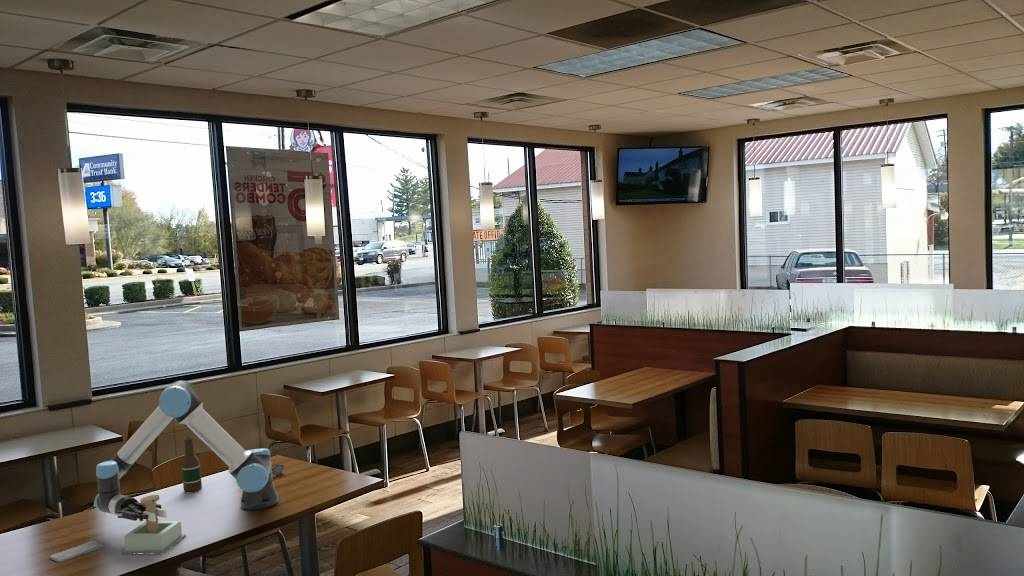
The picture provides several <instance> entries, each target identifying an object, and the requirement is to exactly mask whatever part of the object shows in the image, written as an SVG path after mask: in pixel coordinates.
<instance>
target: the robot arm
mask: <svg viewBox="0 0 1024 576" xmlns="http://www.w3.org/2000/svg"><path fill="white" fill-rule="evenodd" d="M203 404H204V402H203V401H201V399H200V398H199V397H198V396H197V390H196V388H195V387H194V384H192V383H191V382H189V381H187V380H177V381H173V382H171V384H169V386H167V387H166V388H165V389H164V390H163V391H162V392H161V394H160V395H159V399H158V406H157V407H156V408H155V409H154V411H152V413H151V414H150V415H149V416H148V417H147V419H145V420H144V422H143V423H142V424H141V425H140V426H139V427H138V429H136V431H135V432H134V433H133V434H132V435H131V437H130V438H129V439H128V440H127V441H126V443H124V445H123V446H122V447H121V448H120V449H119V450H118V451H117V452H116V453H115V455H114V456H113V457H112V458H111V459H110V460H107V461H106V460H105V461H103V462H101V463H97V465H96V467H95V468H96V470H95V471H96V472H95V476H96V481H97V482H96V483H97V491H98V493H97V494H96V496H95V497H94V501H93V503H94V504H93V505H94V507H95V509H97V510H98V511H100V512H103V513H106V514H111V515H114V516H117V518H118V519H125V520H128V521H129V520H130V521H138V520H139V522H143V521H144V520H145V521H146V520H149V521H153V522H155V521H156V517H155V514H154V513H150V512H146V506H145V504H142V503H141V502H139V501H138V500H137V499H136V498H134V497H131V496H128V495H124V494H121V487H120V479H121V478H122V477H123V476H124V475H125V474H126V473H127V472H128V470H129V469H130V468H131V467H132V466H133V465H134V463H135V462H136V461H137V460H138V459H139V457H141V455H142V454H143V453H145V451H146V449H147V448H148V447H149V446H150V445H151V444H152V443H153V442H154V441H155V440H156V438H158V436H159V435H160V434H161V433H162V431H163V430H164V429H165V428H167V426H168V425H169V424H170V423H171V421H172V420H174V421H176V422H177V423H178V425H186V426H187V427H188V428H189V429H190V430H191V431H192V432H193V433H194V434H195V435H196V436H197V437H198V438H199V439H200V440H201V441H202V442H203V443H204V444H205V445H206V446H207V447H208V448H209V449H210V450H211V451H212V452H214V454H215V455H216V456H217V457H219V458H220V460H221V461H222V462H223V463H225V465H227V466H228V473H229V474H230V475H231V476H232V477H233V478H234V479H235V480H236V483H237V485H238V487H239V488H240V489H241V490H242V494H241V497H240V507H241V509H243V510H250V511H252V510H260V509H265V508H269V507H272V506H275V505H276V504H278V503H279V495H278V492H277V490H276V488H275V485H274V482H273V473H272V467H271V466H272V460H271V459H272V458H271V456H272V455H271V451H270V448H265V447H264V448H254V449H248V450H246V449H244V447H243V446H241V444H239V443H238V442H237V441H236V440H235V439H234V437H232V436H231V435H230V434H229V433H228V432H227V431H226V430H225V429H224V428H223V427H222V426H221V425H220V424H219V423H218V421H216V419H214V418H213V417H212V416H211V415H210V414H209V413H208V412H207V411H206V410H205V408H204V406H203ZM156 512H157V517H160V518H163V519H165V518H167V510H166V509H163V507H162V504H160V503H157V502H156Z"/></svg>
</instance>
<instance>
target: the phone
mask: <svg viewBox="0 0 1024 576" xmlns="http://www.w3.org/2000/svg"><path fill="white" fill-rule="evenodd" d="M101 548H104V543H101V542H97V541H94V540H91V541H89V542H85V543H82V544H79V545H77V546H75V547H71V548H68V549H65V550H63V551H60V552H57V553H53V554H51V555H50V556H49V559H50V560H53V561H56V562H57V563H63V562H64V561H68V560H70V559H73V558H77V557H79V556H82V555H85V554H87V553H88V554H89V553H91V552H93V551H96V550H98V549H101ZM81 554H82V555H81ZM76 556H77V557H76Z"/></svg>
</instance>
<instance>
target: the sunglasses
mask: <svg viewBox="0 0 1024 576" xmlns="http://www.w3.org/2000/svg"><path fill="white" fill-rule="evenodd" d="M284 468H285V467H284V464H281V463H277V464H276V463H275V464H273V465H272V464H271V469H272V475H274V476H276V477H278V476H280V475H282V474H283V471H284Z"/></svg>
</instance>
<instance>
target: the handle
mask: <svg viewBox="0 0 1024 576" xmlns="http://www.w3.org/2000/svg"><path fill="white" fill-rule="evenodd" d="M159 500H160V495H158V494H152V495H147V496H145V497H142V498H140V503H142V504H145V506H146V512H150V513H154V514H155V517H156V521H155V522H153V521H149V520H146V519H145V522H146V526H147V532H148V533H158V521H159V519H158V516H157V512H156V503H157V502H158V501H159Z"/></svg>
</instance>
